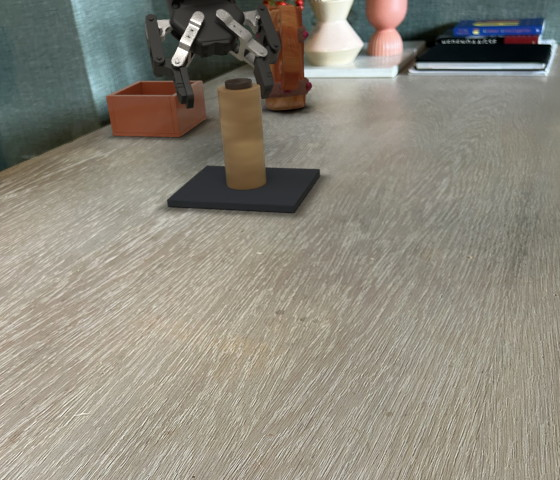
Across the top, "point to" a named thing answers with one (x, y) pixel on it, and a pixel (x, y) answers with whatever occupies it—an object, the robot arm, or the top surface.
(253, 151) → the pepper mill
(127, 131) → the terracotta open box
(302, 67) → the mug
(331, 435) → the top surface
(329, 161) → the top surface
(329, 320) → the top surface
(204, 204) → the mat
